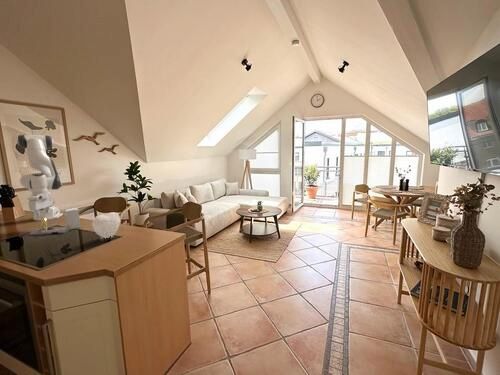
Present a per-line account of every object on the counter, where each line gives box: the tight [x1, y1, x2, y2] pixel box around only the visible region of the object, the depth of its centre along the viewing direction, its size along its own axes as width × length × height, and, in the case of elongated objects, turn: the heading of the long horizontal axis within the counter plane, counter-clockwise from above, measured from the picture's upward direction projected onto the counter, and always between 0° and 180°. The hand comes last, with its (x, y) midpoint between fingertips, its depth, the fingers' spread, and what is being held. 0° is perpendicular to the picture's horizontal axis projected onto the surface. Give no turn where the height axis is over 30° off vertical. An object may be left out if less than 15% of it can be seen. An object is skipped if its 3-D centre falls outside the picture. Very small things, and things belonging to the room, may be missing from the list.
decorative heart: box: [91, 211, 121, 240], centre depth 161 cm, size 18×11×17 cm, turn 157°
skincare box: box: [64, 207, 81, 231], centre depth 183 cm, size 8×6×15 cm
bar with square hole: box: [28, 226, 70, 236], centre depth 173 cm, size 7×22×3 cm, turn 99°
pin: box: [40, 217, 49, 230], centre depth 179 cm, size 3×3×9 cm
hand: (43, 214), depth 178 cm, fingers open, 8 cm apart
